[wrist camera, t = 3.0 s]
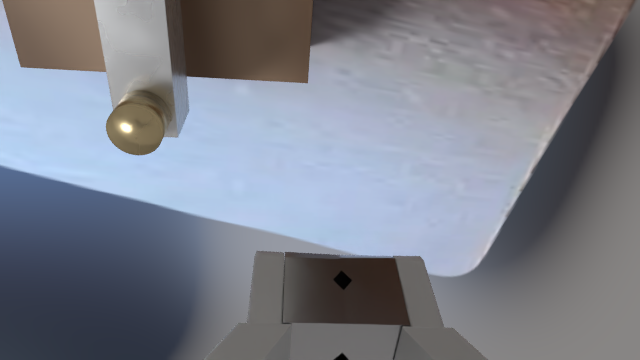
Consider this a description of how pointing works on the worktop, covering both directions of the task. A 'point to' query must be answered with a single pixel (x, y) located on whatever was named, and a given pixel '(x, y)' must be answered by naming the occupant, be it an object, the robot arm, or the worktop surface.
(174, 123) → the lock bar
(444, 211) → the worktop surface
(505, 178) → the worktop surface
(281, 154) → the worktop surface
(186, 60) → the jamb block
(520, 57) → the worktop surface
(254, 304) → the robot arm
